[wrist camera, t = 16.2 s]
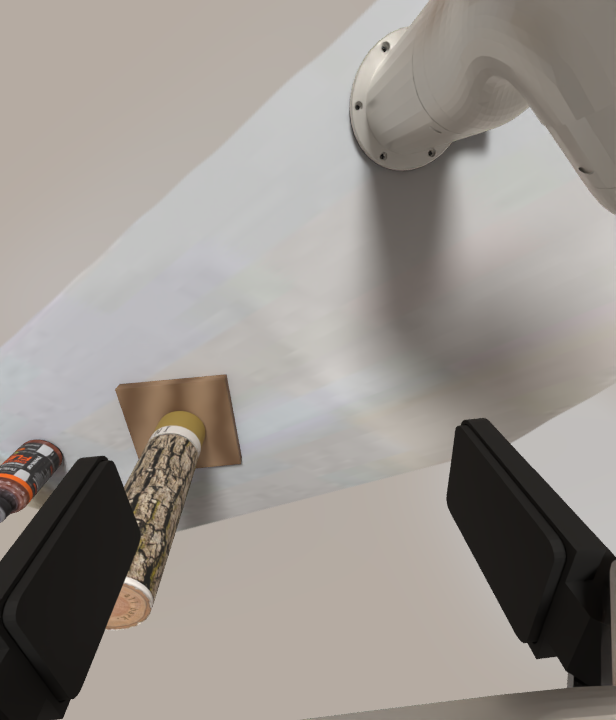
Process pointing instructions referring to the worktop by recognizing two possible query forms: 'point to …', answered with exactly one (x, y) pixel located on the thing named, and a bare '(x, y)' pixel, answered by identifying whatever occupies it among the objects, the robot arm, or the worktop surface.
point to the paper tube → (157, 510)
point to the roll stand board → (190, 395)
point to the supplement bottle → (26, 474)
